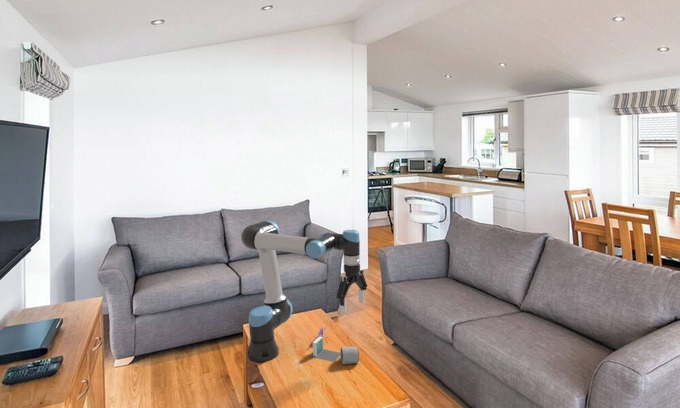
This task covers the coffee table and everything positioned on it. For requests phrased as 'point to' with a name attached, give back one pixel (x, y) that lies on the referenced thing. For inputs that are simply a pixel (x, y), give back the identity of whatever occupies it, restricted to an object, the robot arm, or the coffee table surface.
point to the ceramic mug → (349, 355)
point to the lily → (321, 333)
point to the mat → (327, 355)
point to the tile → (317, 346)
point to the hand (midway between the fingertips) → (352, 307)
